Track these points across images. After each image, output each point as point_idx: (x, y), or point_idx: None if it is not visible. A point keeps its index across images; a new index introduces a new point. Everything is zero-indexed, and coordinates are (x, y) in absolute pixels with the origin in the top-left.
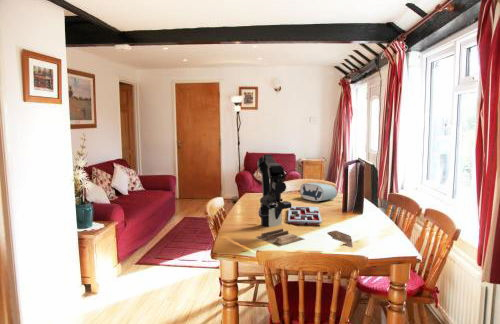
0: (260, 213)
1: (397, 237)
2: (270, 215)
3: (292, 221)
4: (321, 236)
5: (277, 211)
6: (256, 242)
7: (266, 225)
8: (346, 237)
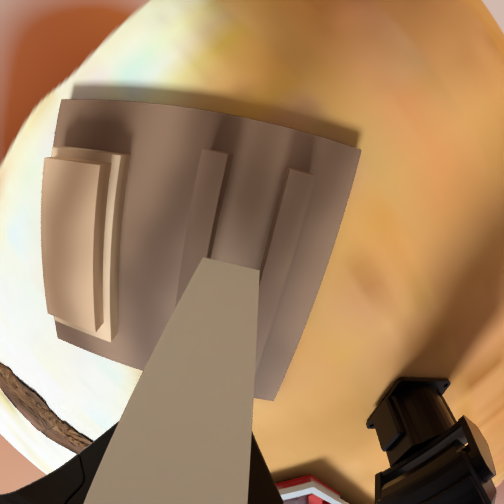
0: (475, 437)
1: (12, 442)
2: (178, 390)
3: (291, 488)
4: (81, 413)
5: (50, 490)
6: (288, 76)
7: (405, 400)
8: (35, 420)
